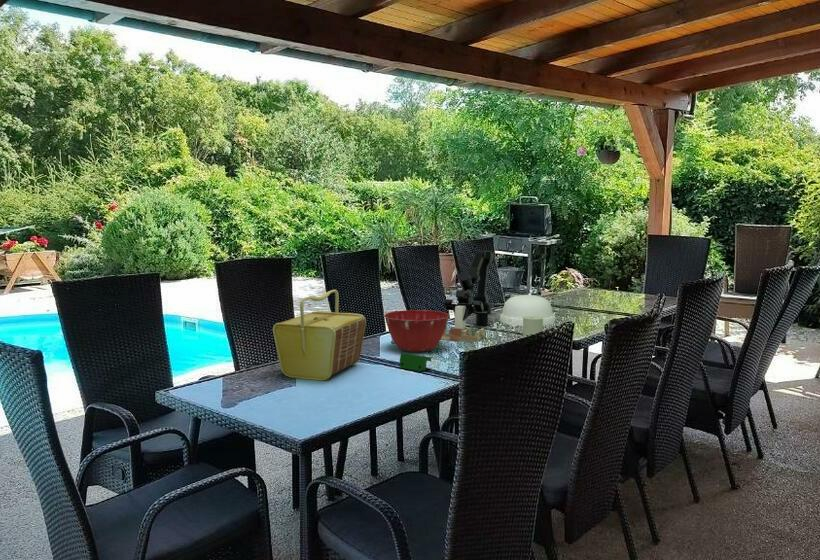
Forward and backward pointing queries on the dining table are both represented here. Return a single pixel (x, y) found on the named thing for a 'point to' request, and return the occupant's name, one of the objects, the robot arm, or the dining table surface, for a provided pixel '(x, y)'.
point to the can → (532, 324)
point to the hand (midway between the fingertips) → (459, 320)
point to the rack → (463, 335)
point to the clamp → (413, 362)
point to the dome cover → (526, 309)
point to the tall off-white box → (460, 317)
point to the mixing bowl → (416, 329)
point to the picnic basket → (319, 341)
